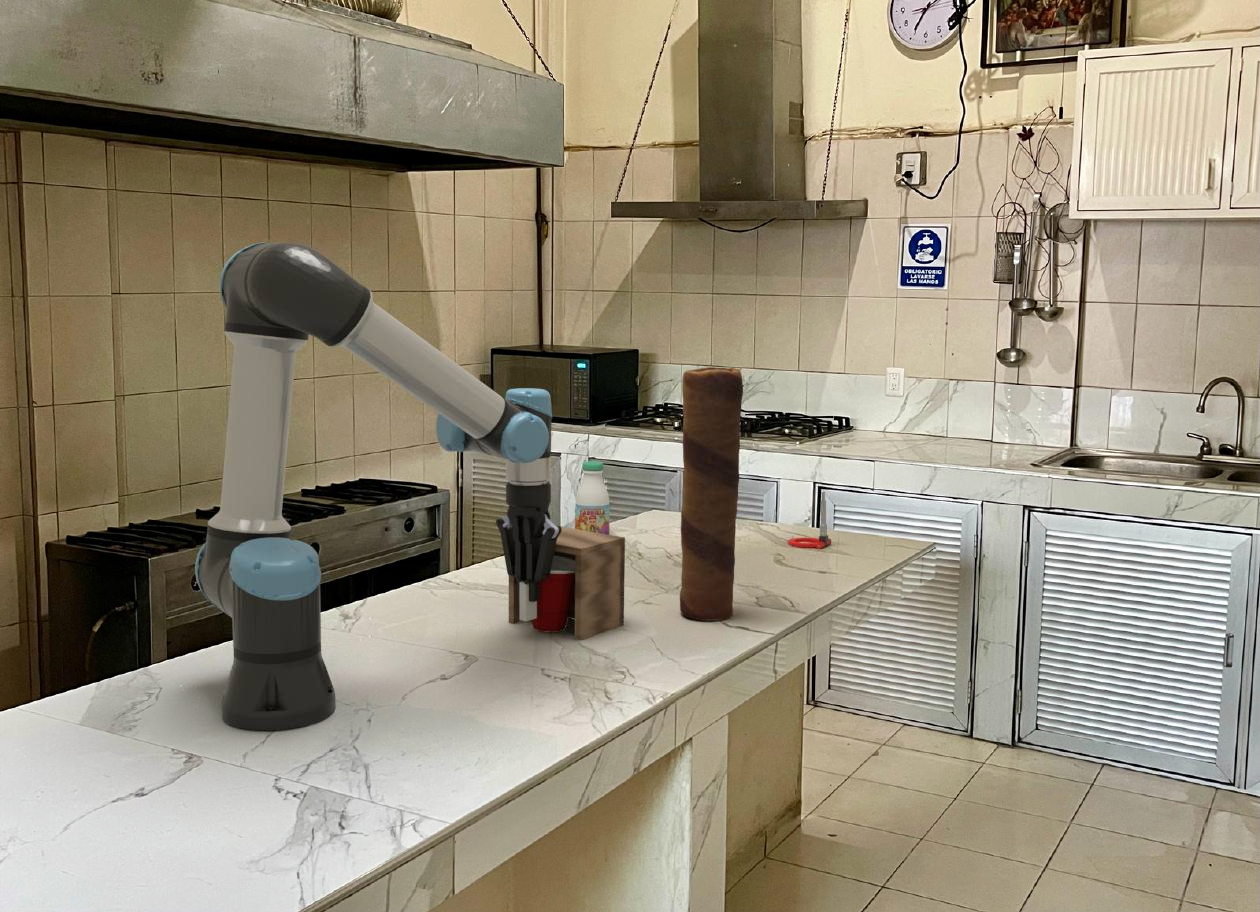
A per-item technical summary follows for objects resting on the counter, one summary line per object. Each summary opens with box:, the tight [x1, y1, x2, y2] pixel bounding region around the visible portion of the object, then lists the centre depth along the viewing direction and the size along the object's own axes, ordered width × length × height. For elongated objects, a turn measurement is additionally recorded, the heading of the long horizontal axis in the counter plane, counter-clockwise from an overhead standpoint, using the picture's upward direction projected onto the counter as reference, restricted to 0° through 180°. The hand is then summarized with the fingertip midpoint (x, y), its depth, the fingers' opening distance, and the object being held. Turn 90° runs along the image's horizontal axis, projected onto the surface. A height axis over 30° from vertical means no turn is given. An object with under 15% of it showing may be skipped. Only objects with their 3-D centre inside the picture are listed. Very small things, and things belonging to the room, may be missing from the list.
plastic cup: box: [530, 555, 575, 633], centre depth 209 cm, size 11×11×12 cm
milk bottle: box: [574, 461, 611, 535], centre depth 270 cm, size 8×8×20 cm
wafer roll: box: [679, 366, 744, 621], centre depth 217 cm, size 10×11×45 cm
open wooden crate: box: [508, 524, 626, 641], centre depth 212 cm, size 12×16×16 cm
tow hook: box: [787, 491, 832, 550], centre depth 281 cm, size 8×13×9 cm
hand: (528, 618), depth 204 cm, fingers closed
